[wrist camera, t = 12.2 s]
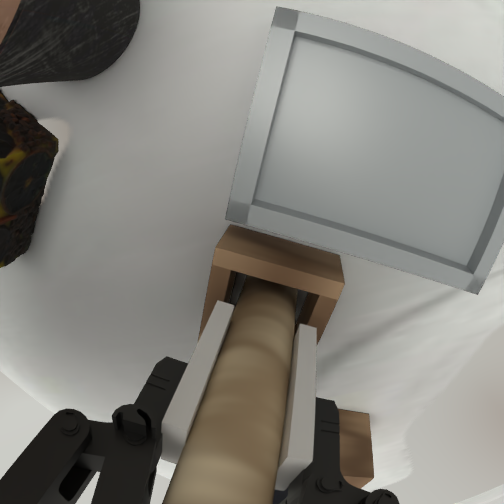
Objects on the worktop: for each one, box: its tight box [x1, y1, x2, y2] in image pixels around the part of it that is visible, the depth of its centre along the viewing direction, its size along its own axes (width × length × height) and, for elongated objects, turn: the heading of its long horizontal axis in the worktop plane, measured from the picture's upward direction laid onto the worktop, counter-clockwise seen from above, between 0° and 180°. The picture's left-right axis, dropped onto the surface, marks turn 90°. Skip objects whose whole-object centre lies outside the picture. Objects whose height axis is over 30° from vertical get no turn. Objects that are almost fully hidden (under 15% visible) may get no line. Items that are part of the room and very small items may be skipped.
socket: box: [198, 224, 345, 344], centre depth 17 cm, size 6×6×3 cm
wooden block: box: [338, 409, 374, 489], centre depth 21 cm, size 3×8×6 cm, turn 167°
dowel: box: [162, 275, 298, 504], centre depth 12 cm, size 3×3×14 cm
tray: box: [225, 6, 504, 295], centre depth 13 cm, size 14×10×2 cm
